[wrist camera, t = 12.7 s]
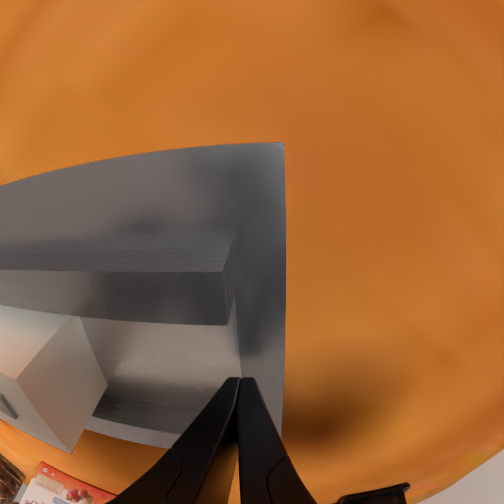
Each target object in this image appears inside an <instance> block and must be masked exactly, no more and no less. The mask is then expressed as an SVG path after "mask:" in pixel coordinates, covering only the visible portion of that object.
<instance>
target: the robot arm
mask: <svg viewBox="0 0 504 504" xmlns="http://www.w3.org/2000/svg"><path fill="white" fill-rule="evenodd" d="M237 456H238V459H239V480H240V499H241V504H317V503H316V501H315V500H314V498H313V497H312V496H311V494H310V493H309V491H308V490H307V489H306V487H305V485H304V484H303V482H302V481H301V479H300V478H299V476H298V474H297V472H296V470H295V468H294V466H293V464H292V462H291V460H290V458H289V456H288V455H287V451H286V449H285V447H284V445H283V443H282V440H281V438H280V436H279V434H278V431H277V429H276V427H275V424H274V422H273V420H272V418H271V415H270V413H269V411H268V408H267V406H266V404H265V401H264V399H263V396H262V394H261V392H260V389H259V387H258V385H257V382H256V380H255V378H254V377H243V378H242V379H241V378H240V377H228V378H227V379H226V381H225V382H224V383H223V384H222V386H221V387H220V388H219V389H218V391H217V392H216V393H215V395H214V396H213V397H212V398H211V399H210V401H209V402H208V403H207V404H206V406H205V407H204V408H203V409H202V411H201V412H200V413H199V414H198V415H197V417H196V418H195V419H194V420H193V421H192V423H191V424H190V425H189V426H188V427H187V429H186V430H185V431H184V432H183V433H182V435H181V436H180V437H179V438H178V439H177V440H176V442H175V443H174V444H173V445H172V446H171V448H169V449H168V451H167V452H166V453H165V454H164V455H163V456H162V457H161V458H160V459H159V460H158V462H157V463H156V464H155V465H154V466H153V467H152V468H150V469H149V470H148V471H147V472H146V473H145V474H144V475H143V476H141V477H140V478H139V479H138V480H137V481H135V482H134V483H133V484H132V485H130V486H129V487H128V488H127V489H125V490H124V491H123V492H122V493H120V494H119V495H118V496H116V497H115V498H114V499H112V500H110V501H108V502H106V503H104V504H227V503H228V498H229V494H230V489H231V485H232V480H233V475H234V471H235V466H236V461H237ZM408 489H410V484H404V485H401V486H397V487H393V488H389V489H384V490H380V491H375V492H370V493H365V494H360V495H354V496H348V497H344V498H343V499H342V500H341V501H340V503H339V504H407V503H406V498H405V494H404V493H405V492H406V491H407V490H408ZM8 504H19V503H18V502H12V503H8Z"/></svg>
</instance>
